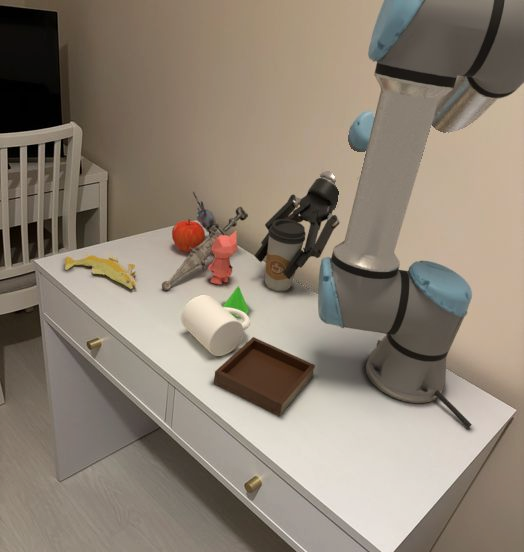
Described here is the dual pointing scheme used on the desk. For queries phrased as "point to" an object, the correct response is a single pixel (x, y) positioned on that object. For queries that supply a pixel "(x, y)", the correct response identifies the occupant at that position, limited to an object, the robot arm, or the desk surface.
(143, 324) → the desk surface
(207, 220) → the toy
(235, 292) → the green pyramid
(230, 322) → the mug
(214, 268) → the cat figurine
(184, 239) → the apple
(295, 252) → the coffee cup
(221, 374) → the serving tray
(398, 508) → the desk surface
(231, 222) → the decorative dagger
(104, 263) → the toy
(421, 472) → the desk surface
